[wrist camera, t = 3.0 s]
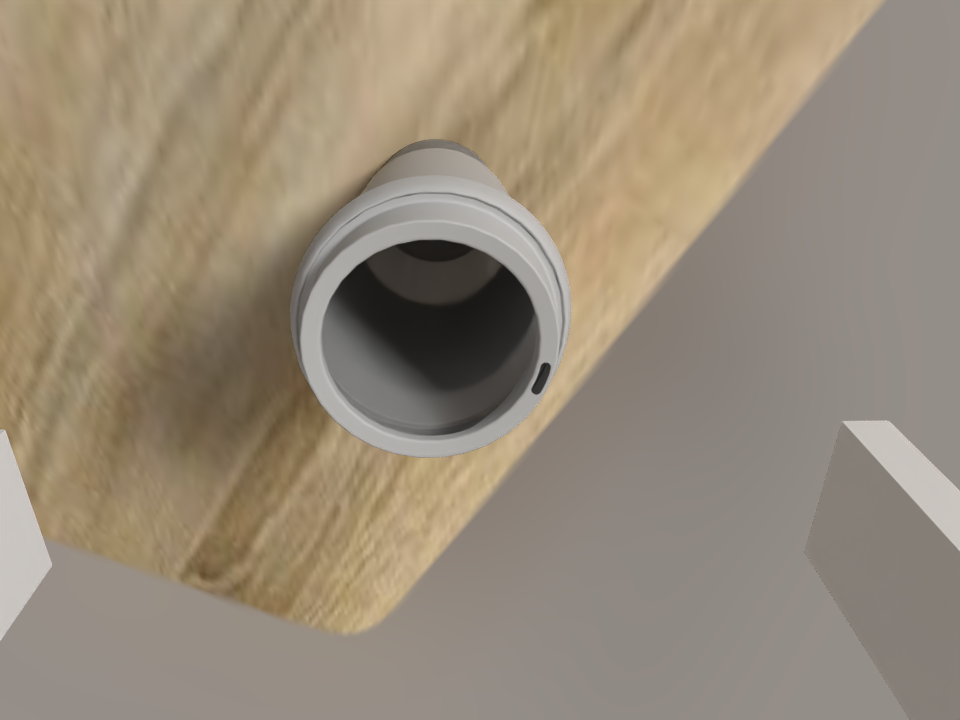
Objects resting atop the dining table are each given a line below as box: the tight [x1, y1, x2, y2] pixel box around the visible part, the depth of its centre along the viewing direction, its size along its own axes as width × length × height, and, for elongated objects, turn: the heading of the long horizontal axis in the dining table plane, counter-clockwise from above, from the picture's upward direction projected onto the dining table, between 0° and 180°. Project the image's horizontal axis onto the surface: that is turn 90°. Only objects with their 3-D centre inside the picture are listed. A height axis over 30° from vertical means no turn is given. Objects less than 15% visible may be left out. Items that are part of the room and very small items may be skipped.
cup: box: [290, 139, 571, 458], centre depth 21 cm, size 7×7×12 cm
